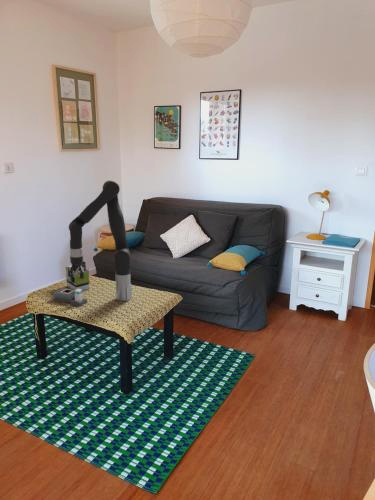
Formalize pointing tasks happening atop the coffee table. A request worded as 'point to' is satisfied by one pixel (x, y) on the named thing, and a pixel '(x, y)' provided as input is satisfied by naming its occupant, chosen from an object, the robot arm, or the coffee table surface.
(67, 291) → the port
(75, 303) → the gray square frame
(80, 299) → the plug
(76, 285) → the tea box
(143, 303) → the coffee table surface
